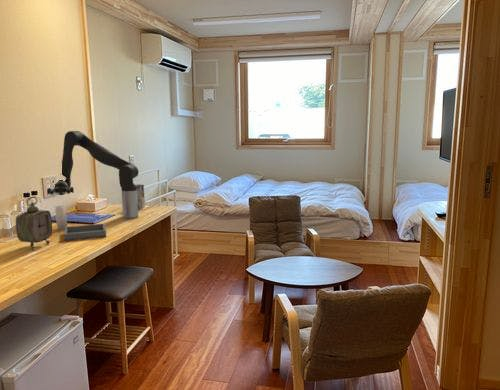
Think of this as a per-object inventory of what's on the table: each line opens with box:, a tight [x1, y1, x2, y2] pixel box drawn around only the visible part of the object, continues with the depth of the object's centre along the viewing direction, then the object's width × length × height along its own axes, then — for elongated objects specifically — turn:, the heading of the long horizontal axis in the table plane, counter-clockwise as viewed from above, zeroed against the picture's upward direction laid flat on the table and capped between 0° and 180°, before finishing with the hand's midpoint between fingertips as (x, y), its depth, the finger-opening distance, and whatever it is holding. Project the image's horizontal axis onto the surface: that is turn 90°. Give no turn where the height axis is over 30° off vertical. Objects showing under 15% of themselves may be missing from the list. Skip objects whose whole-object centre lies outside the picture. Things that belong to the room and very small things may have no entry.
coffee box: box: [135, 184, 146, 211], centre depth 281 cm, size 9×6×16 cm
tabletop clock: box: [15, 196, 53, 252], centre depth 198 cm, size 14×9×25 cm, turn 168°
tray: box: [64, 223, 107, 242], centre depth 220 cm, size 20×15×4 cm
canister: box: [55, 205, 68, 231], centre depth 229 cm, size 5×5×13 cm
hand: (60, 192), depth 237 cm, fingers open, 8 cm apart
